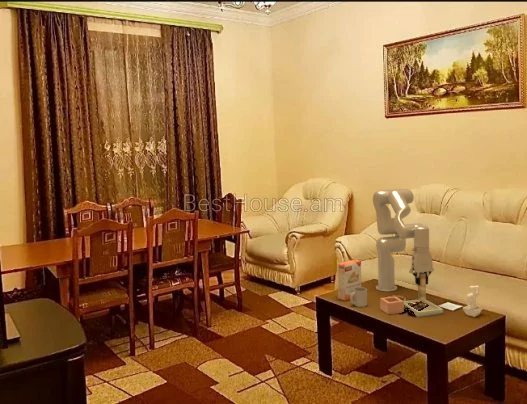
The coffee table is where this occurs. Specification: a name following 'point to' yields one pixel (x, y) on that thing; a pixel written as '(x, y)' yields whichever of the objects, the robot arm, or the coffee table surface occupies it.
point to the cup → (359, 297)
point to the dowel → (422, 286)
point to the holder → (391, 305)
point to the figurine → (472, 302)
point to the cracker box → (348, 278)
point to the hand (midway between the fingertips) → (421, 283)
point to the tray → (425, 309)
